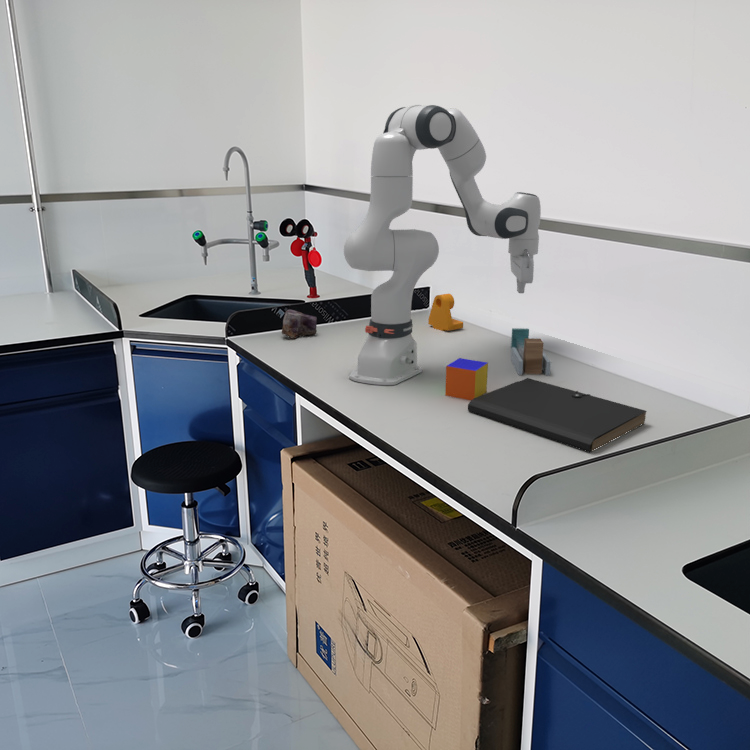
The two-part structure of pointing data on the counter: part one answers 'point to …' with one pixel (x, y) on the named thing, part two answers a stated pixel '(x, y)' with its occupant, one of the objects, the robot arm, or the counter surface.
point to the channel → (518, 362)
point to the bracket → (443, 314)
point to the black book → (558, 413)
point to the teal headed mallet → (519, 339)
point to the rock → (298, 324)
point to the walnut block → (532, 356)
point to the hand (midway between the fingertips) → (520, 292)
